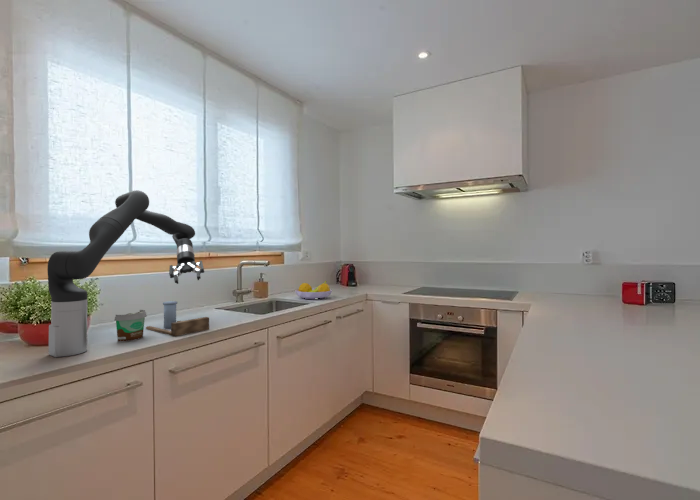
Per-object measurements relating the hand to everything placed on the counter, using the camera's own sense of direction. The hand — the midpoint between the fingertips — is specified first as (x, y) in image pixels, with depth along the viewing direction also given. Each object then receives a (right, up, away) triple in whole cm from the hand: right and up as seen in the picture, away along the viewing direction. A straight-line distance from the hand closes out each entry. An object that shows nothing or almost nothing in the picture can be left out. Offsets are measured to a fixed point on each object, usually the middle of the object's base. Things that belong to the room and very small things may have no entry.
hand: (187, 280), depth 154 cm
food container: (-10, -20, -21) cm, 31 cm away
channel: (-2, -20, -5) cm, 21 cm away
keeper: (-7, -20, -2) cm, 21 cm away
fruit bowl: (+47, -21, +93) cm, 106 cm away
